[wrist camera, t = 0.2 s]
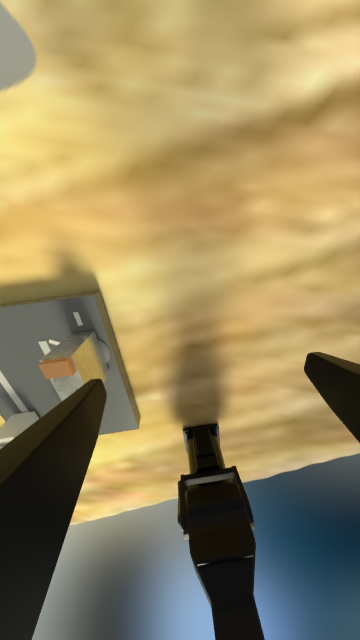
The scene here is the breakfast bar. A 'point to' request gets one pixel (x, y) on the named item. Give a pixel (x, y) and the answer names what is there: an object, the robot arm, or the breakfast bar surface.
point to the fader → (16, 426)
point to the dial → (74, 363)
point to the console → (40, 338)
